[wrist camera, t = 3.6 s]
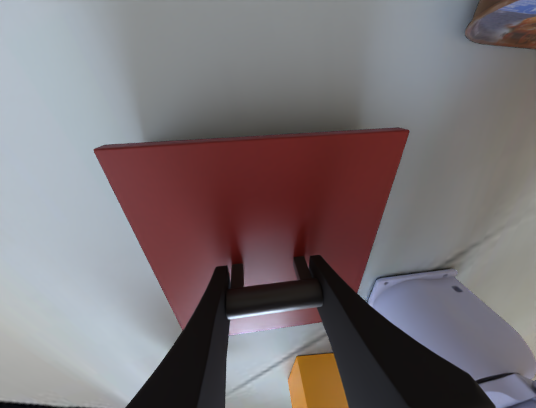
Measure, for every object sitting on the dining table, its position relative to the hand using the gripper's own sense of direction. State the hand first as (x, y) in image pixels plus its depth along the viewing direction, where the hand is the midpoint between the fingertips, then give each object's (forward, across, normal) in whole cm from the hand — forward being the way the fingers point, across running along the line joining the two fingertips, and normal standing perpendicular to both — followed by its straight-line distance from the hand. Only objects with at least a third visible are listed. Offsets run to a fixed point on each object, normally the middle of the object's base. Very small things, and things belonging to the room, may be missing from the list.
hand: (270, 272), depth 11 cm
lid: (+1, 0, 0) cm, 1 cm away
